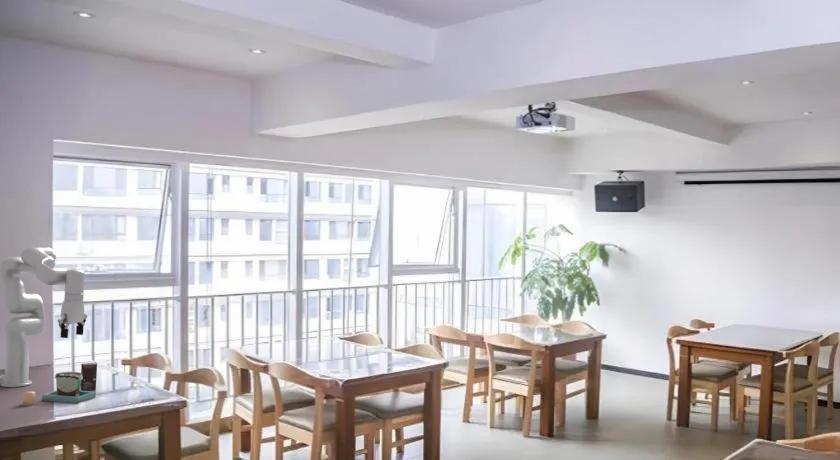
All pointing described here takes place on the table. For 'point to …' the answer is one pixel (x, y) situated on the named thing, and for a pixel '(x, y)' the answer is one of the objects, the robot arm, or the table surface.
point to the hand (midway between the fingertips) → (71, 336)
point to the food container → (68, 383)
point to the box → (88, 376)
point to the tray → (69, 397)
